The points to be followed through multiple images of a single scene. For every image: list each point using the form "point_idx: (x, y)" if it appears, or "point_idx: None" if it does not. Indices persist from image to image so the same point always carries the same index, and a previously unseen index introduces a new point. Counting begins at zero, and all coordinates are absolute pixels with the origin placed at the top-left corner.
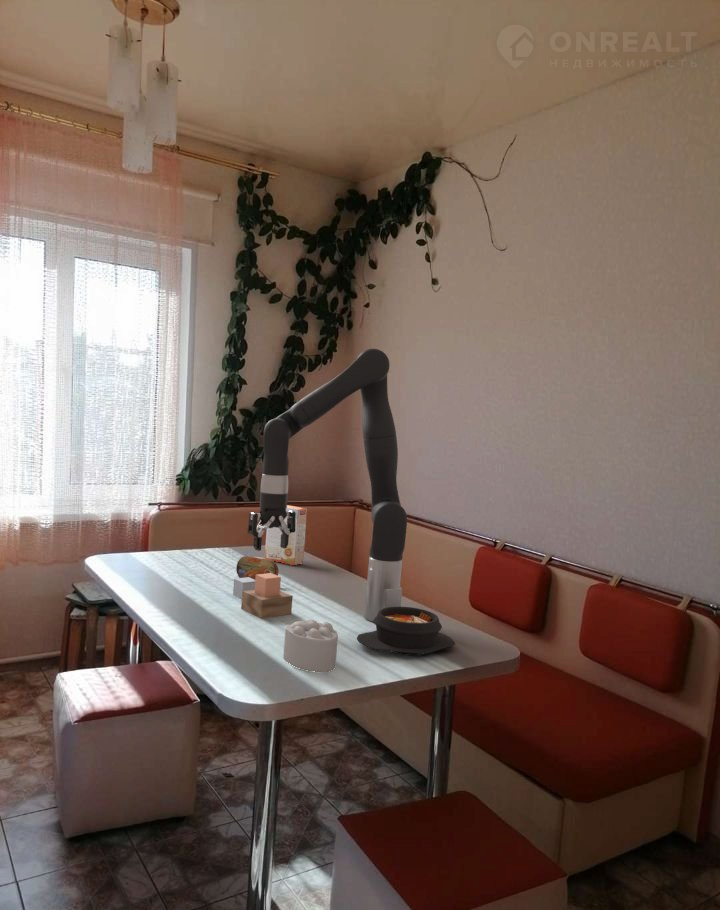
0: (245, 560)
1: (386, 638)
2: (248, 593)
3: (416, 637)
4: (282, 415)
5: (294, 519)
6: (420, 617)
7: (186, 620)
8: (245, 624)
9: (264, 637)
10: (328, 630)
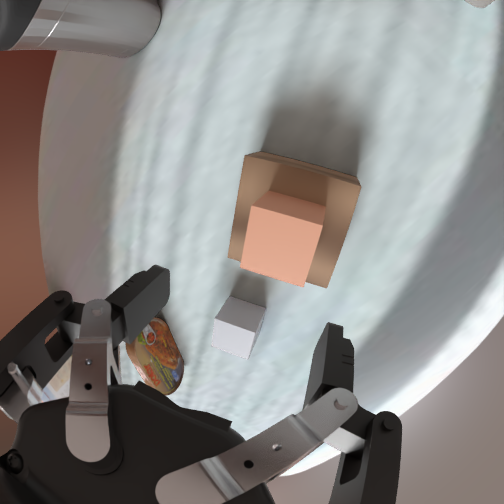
0: (162, 386)
1: None
2: (334, 262)
3: None
4: None
5: (8, 341)
6: None
7: (469, 285)
8: (421, 174)
9: (453, 82)
10: None
